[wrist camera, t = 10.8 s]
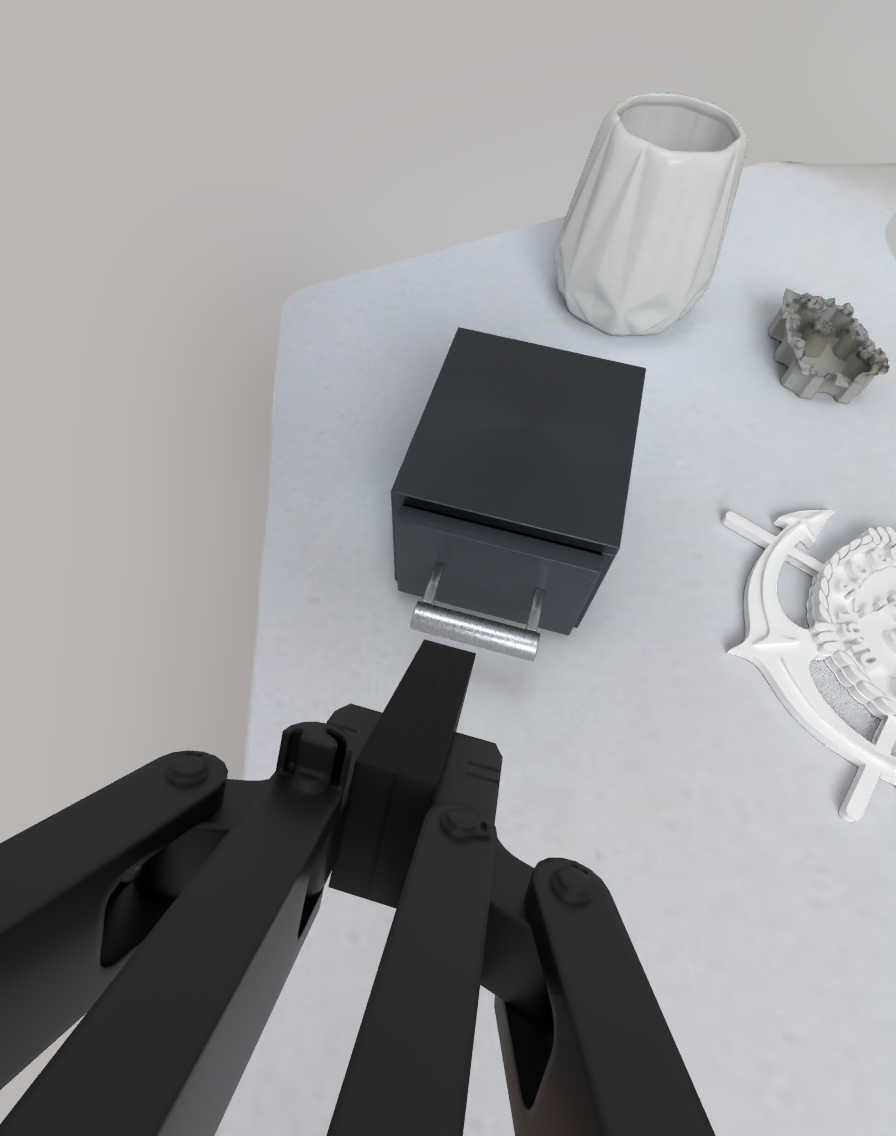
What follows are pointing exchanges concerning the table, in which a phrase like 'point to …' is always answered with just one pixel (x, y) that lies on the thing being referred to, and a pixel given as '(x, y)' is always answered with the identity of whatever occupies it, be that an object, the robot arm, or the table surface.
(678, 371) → the table surface
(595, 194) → the vase
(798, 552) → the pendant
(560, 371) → the small drawer cabinet
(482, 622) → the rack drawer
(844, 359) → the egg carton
